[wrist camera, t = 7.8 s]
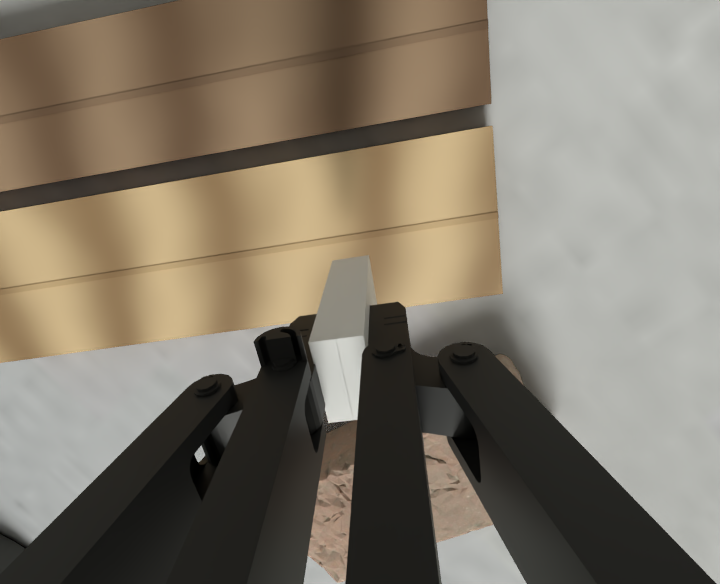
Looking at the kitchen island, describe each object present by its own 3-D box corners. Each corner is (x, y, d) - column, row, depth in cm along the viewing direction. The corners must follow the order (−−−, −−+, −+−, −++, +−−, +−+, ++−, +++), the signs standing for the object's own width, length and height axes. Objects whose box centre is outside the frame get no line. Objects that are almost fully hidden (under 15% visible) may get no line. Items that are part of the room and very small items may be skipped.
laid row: (-58, 201, 23) (-81, 206, 21) (-127, 74, 20) (-157, 73, 19) (484, 103, 20) (491, 103, 19) (476, -56, 18) (483, -67, 16)
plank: (16, 353, 25) (-2, 363, 24) (-48, 219, 23) (-70, 224, 22) (496, 286, 23) (502, 293, 22) (486, 126, 20) (492, 125, 19)
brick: (501, 343, 25) (526, 392, 21) (555, 440, 28) (587, 502, 24) (273, 449, 29) (255, 509, 25) (339, 525, 32) (333, 592, 28)
